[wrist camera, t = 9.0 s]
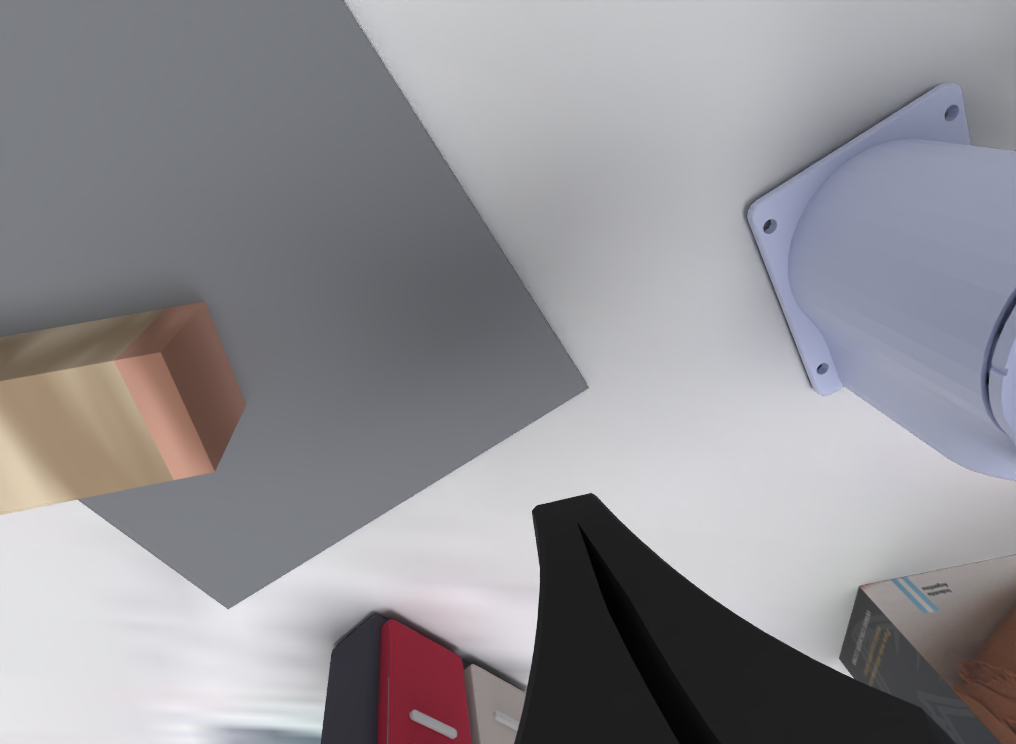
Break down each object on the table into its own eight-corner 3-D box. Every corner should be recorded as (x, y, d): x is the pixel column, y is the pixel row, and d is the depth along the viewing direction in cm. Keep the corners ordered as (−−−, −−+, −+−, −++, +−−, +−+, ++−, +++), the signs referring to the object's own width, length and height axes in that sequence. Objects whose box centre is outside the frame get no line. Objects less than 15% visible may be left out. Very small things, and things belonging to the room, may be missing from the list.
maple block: (160, 352, 16) (-164, 410, 15) (214, 471, 17) (-71, 528, 17) (204, 301, 19) (-56, 346, 18) (246, 405, 21) (11, 450, 20)
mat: (586, 384, 23) (588, 387, 23) (229, 603, 25) (228, 609, 25) (209, -211, 14) (205, -217, 14) (-306, 209, 16) (-318, 211, 16)
